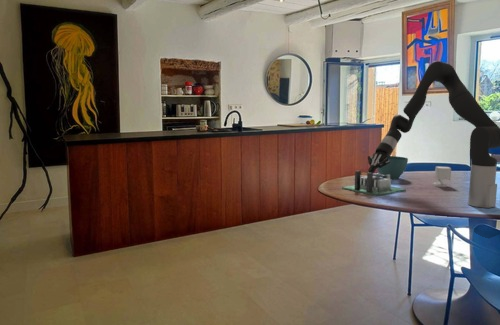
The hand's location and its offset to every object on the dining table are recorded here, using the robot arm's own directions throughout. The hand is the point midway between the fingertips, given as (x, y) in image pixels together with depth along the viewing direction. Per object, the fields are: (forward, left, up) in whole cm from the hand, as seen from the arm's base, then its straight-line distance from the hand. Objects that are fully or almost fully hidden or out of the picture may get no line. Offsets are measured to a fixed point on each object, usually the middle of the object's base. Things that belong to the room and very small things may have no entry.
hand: (370, 172), depth 196 cm
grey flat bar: (0, -10, -3) cm, 11 cm away
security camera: (-14, -41, -9) cm, 45 cm away
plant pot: (+16, -39, -9) cm, 43 cm away
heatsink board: (0, -4, -9) cm, 10 cm away
